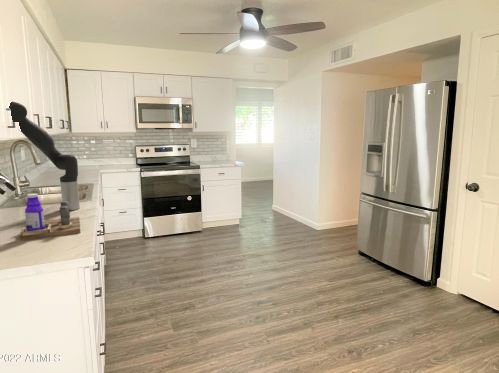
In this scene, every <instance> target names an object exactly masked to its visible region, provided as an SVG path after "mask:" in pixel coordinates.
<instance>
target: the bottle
mask: <svg viewBox="0 0 499 373" xmlns="http://www.w3.org/2000/svg"><path fill="white" fill-rule="evenodd" d="M41 203H42V202H41V201H40V200H39V195H38V193H28V194H27V201H26V202H25V205H26V207H25V210H24V214H25V225H26V226H27V230H28V231H35V230H43V229H44V228H45V222H44V220H45V215H44V214H45V213H44V208H43V206H42V204H41ZM40 204H41V205H40Z"/></svg>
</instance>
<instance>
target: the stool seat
mask: <svg viewBox="0 0 499 373" xmlns="http://www.w3.org/2000/svg"><path fill="white" fill-rule="evenodd" d="M40 205H41V206H42V204H40ZM59 214H60V218H57V219H49V220H45V219H44V222H45V228H44V229H43V230H35V231H28V230H27V226H26V224H24V226H23V227H22V229H21V231H20V236H19V241H27V240H28V241H29V240H34V239H42V238H51V237H59V236H65V235H74V234H81V223H80V222H81V221H80V216H76V217H72V216H71V215H70V210H69V202H68V201H64V202H62V201H61V202H60V207H59Z"/></svg>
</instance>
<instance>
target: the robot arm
mask: <svg viewBox="0 0 499 373" xmlns="http://www.w3.org/2000/svg"><path fill="white" fill-rule="evenodd" d="M9 108H10V109H11V116H12V120H13V122H19V126H20V129H21V131H20V132H21V133H22V134H23V135H24V137H26V138H27V139H28V140H29V141H30V142H31V143H32V144H33V145H34V147H36V148H38V149H39V151H41V153H43V155H45V156H46V157H47V158H48V159H49V161H51V163H52V165H54V166H55V167H56V168H57V169H58V170H61V171H65V172H64V175H62V176H60V177H59V183H60V184H59V185H60V194H61V195H60V196H61V202H64V201H68V202H69V211H73V210H74V211H77V210H80V208H81V206H80V195H79V185H78V176H79V168H78V167H79V166H78V158H77V157H76V156H75V155H74V154H73V155H72V154H63V153H61V152H60V151H59V150H58V149H56V147H55V141H54V138H53V137H52V135H50V134H49V133H48V132H47V131H46V130H45V129H44V128H43V127H41V126H40V125H38V124H37V123H35V122H34V121H32V120H30V119H29V118H28V117H27V115H28V109H27V107H25V105H23V104H21V103H19V102H17V101H12V102H11V103H10V106H9ZM11 182H12V179H10V178H9V177H8V176H7V175H5V174H4V173H3V172H1V171H0V195H2V196H3V195H5V194H6V193H7V191H6V190H5V189H4V188H2V187H1V185H4V186H5V187H6V188H7V189H9V190H10V191H11V192H15V191H16V189H17V187H16V186H14V184H13V183H11Z"/></svg>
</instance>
